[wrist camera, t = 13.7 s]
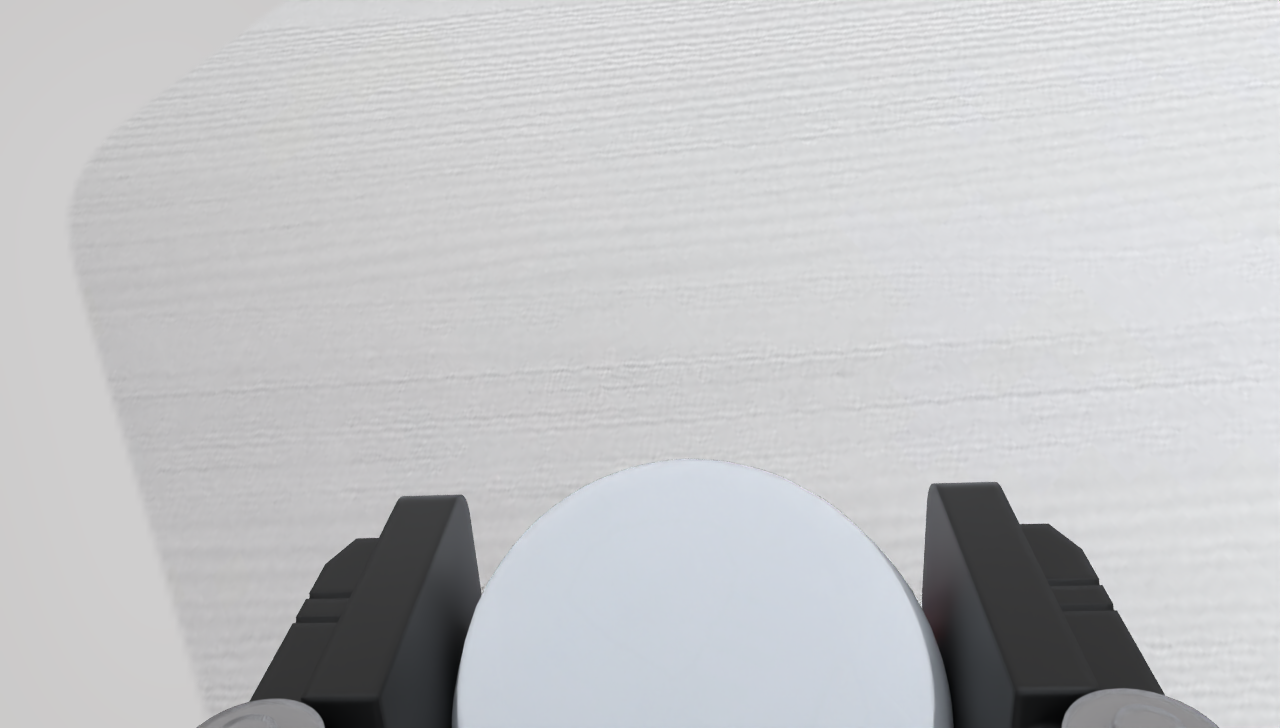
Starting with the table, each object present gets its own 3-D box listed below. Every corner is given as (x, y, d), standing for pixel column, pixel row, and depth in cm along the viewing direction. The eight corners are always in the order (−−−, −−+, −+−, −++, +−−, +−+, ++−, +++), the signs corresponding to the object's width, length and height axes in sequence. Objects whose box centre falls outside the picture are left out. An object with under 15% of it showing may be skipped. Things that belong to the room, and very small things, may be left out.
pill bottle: (914, 635, 18) (1096, 491, 9) (821, 974, 17) (934, 1207, 7) (614, 531, 19) (514, 310, 10) (499, 841, 18) (255, 903, 8)
